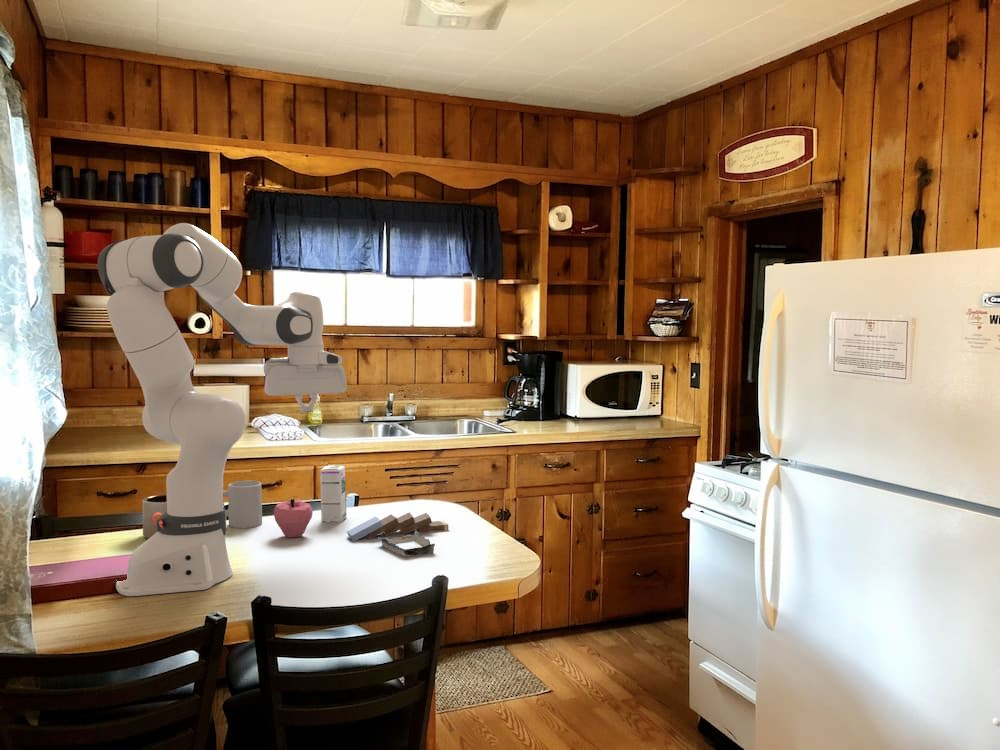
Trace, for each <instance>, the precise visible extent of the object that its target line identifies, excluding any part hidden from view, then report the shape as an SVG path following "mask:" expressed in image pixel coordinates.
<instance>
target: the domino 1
mask: <svg viewBox="0 0 1000 750" xmlns="http://www.w3.org/2000/svg"><path fill="white" fill-rule="evenodd" d="M381 520H382V519H380V518H378V517H376V516H373V517H372V518H370V519H368V520H366V521H365V522H362V523H360V524H358V525H357V526H354V527H353V528H351V529H350V530H346V533H347V536H348V537H349V538H350V539H351V541H352V542H356V541H358V540H360V539H361V538H363V537H365V536H367V534H369V533H371V532H373V531H375V530H377V529H378V528H380V527H382V526H383V525H382V523H381Z"/></svg>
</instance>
